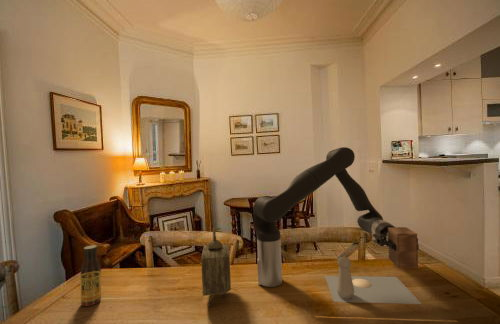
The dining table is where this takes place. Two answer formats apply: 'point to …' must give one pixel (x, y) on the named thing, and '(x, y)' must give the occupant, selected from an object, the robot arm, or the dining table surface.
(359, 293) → the board
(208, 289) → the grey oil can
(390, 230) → the block
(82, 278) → the sauce bottle
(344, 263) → the salt shaker
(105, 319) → the dining table surface
